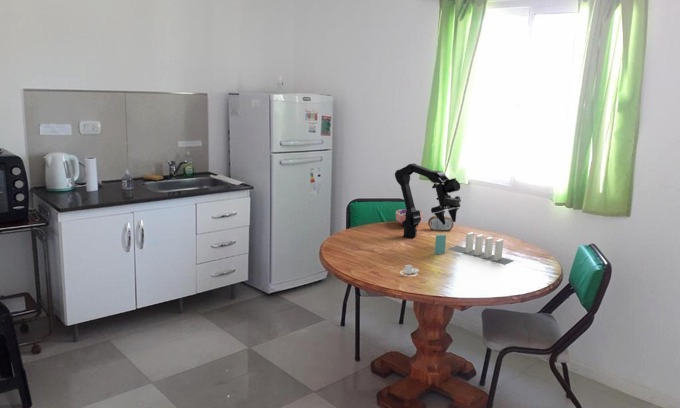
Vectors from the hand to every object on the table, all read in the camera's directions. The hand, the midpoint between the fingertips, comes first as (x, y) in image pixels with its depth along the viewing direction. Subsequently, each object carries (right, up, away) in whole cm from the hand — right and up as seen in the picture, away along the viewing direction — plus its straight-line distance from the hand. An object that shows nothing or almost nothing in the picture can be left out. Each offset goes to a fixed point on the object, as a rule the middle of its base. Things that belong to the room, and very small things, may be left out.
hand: (449, 223), depth 278 cm
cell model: (-16, -3, +46) cm, 49 cm away
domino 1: (+9, -15, -5) cm, 18 cm away
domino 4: (+21, -18, -16) cm, 31 cm away
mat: (+14, -16, -9) cm, 23 cm away
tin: (+2, -6, +38) cm, 39 cm away
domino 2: (+13, -16, -8) cm, 22 cm away
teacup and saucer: (-24, -23, -40) cm, 52 cm away
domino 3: (+17, -17, -12) cm, 26 cm away
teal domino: (-7, -15, -8) cm, 19 cm away
